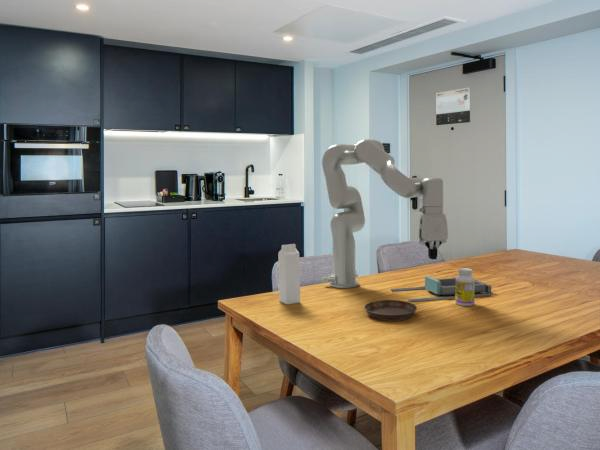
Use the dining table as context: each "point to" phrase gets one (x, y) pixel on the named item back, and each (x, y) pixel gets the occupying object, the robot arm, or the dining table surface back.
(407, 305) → the plant saucer
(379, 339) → the dining table surface
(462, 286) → the supplement bottle
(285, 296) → the milk
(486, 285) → the rails
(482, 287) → the drawer
